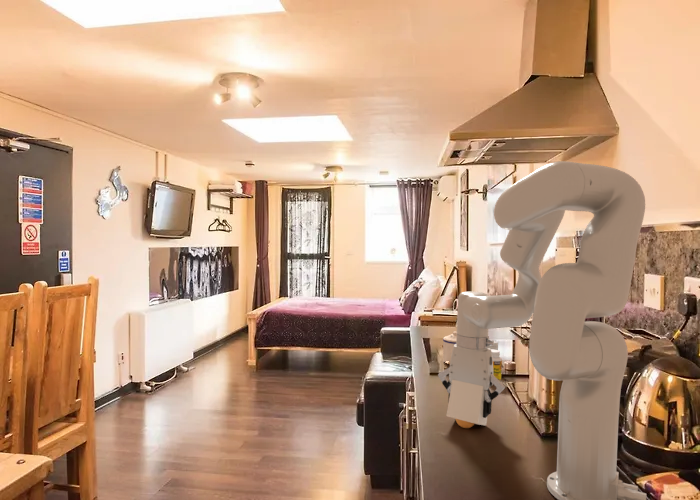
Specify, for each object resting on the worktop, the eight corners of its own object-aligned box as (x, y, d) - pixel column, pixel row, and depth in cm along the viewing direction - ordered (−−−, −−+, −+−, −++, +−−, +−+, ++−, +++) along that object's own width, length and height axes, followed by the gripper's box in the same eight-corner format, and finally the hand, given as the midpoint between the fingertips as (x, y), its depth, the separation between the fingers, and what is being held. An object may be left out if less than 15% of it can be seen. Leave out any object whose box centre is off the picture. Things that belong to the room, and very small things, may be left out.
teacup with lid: (467, 367, 160) (468, 335, 160) (442, 365, 162) (443, 333, 161) (466, 358, 172) (467, 328, 171) (442, 356, 173) (443, 327, 173)
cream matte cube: (486, 425, 110) (491, 389, 112) (477, 424, 104) (483, 386, 106) (456, 417, 114) (461, 383, 116) (446, 416, 108) (452, 379, 110)
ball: (470, 433, 105) (477, 428, 109) (473, 412, 105) (480, 408, 109) (450, 426, 108) (458, 421, 112) (453, 405, 108) (461, 402, 112)
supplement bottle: (493, 385, 140) (494, 353, 140) (479, 380, 145) (480, 349, 145) (504, 383, 143) (506, 351, 143) (491, 378, 148) (492, 347, 148)
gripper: (511, 344, 108) (508, 415, 109) (444, 334, 118) (441, 399, 118) (504, 350, 102) (500, 426, 102) (433, 339, 111) (430, 408, 112)
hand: (469, 411), depth 110 cm, fingers closed on cream matte cube, 7 cm apart
